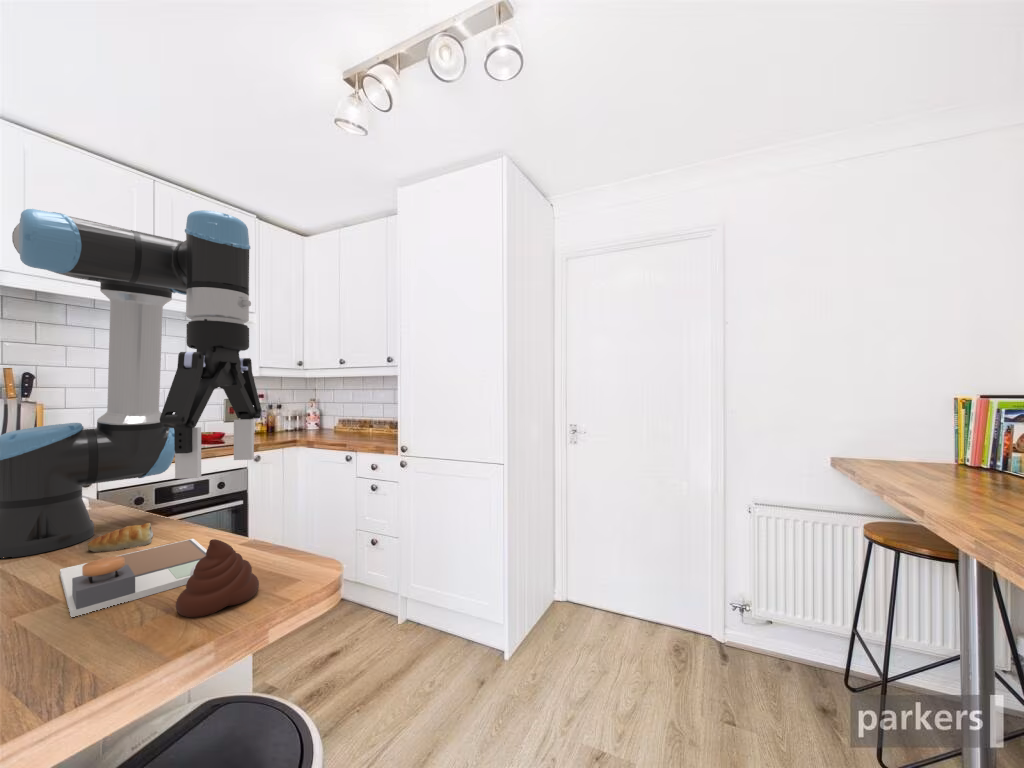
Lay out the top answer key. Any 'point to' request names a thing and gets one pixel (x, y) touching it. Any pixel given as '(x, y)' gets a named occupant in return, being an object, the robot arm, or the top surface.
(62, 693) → the top surface
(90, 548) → the pastry
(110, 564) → the button
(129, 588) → the picture board
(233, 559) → the poop emoji
